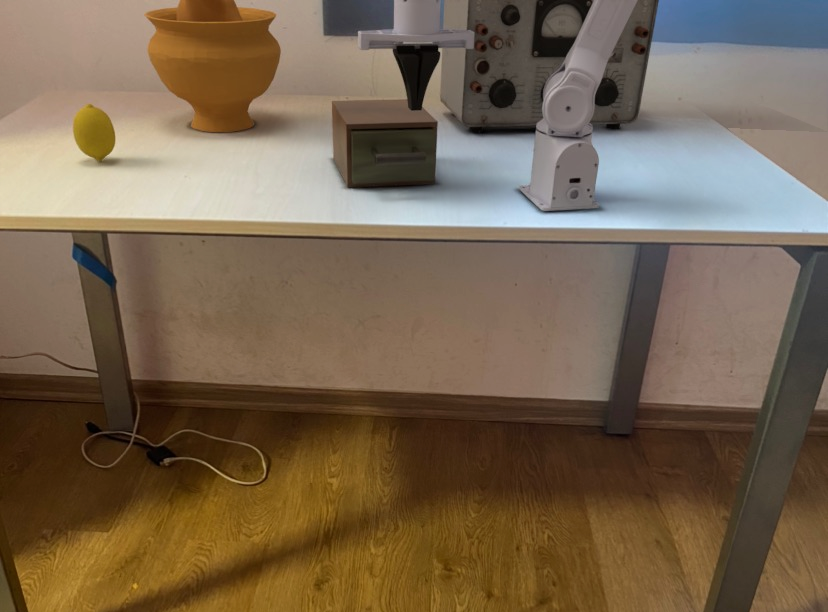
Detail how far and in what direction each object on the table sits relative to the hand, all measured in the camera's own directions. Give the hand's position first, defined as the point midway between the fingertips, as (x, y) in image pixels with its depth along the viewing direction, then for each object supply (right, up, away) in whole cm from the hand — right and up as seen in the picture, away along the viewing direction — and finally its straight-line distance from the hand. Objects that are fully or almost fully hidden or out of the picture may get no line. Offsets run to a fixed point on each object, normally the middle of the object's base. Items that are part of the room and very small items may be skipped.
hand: (414, 108), depth 104 cm
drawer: (-4, -6, +8) cm, 11 cm away
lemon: (-46, -3, +12) cm, 48 cm away
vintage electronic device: (+22, +12, +39) cm, 46 cm away
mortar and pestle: (-33, +9, +32) cm, 47 cm away
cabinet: (-5, -5, +12) cm, 13 cm away
